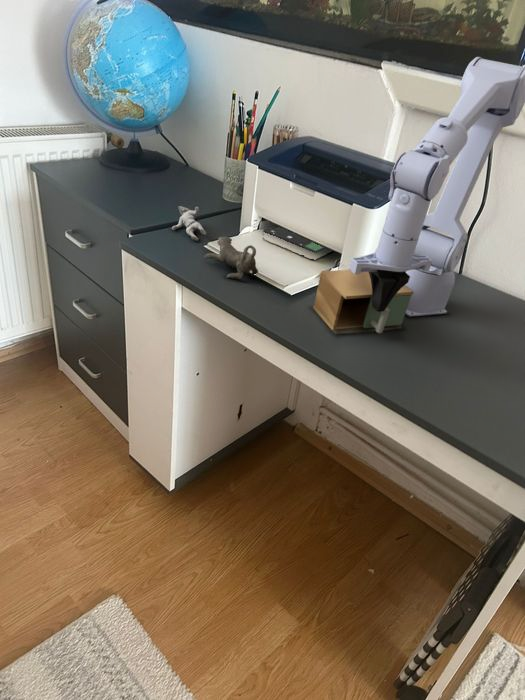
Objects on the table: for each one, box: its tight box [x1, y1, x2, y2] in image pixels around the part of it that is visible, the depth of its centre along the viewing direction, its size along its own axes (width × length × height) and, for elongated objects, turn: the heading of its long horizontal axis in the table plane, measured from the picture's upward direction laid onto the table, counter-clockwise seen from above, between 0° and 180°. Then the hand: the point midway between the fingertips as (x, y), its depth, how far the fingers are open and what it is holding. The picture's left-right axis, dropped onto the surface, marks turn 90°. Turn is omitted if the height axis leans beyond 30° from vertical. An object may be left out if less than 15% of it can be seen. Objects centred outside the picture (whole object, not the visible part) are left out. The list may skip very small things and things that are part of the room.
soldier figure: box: [171, 205, 207, 242], centre depth 120 cm, size 8×5×12 cm
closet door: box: [363, 295, 411, 334], centre depth 93 cm, size 8×4×6 cm, turn 112°
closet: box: [312, 269, 414, 336], centre depth 96 cm, size 14×9×8 cm
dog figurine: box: [203, 236, 259, 280], centre depth 105 cm, size 12×6×7 cm, turn 44°
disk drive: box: [262, 227, 325, 253], centre depth 123 cm, size 10×3×15 cm
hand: (377, 308), depth 89 cm, fingers closed
